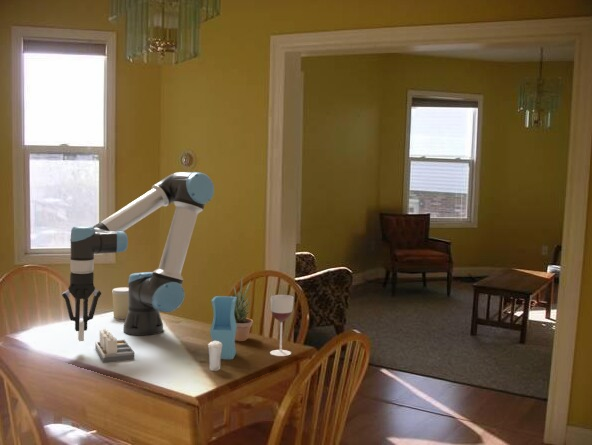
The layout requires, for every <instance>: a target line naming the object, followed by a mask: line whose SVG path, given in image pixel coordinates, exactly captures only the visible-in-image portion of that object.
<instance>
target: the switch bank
mask: <svg viewBox="0 0 592 445" xmlns="http://www.w3.org/2000/svg"><path fill="white" fill-rule="evenodd" d="M94 347H95V350H96V352H97V354H98V355H99V357H100V359H101V361H102V363H110V362H120V361H121V362H122V361H131V360H135V351H134V350H133V348H132V347H131V346H130V345H129V343H128V342H127V341H126V340H125V339H117V353H114V354H107V353H106V350H103V349H102V346H101V345H100V341H95V346H94Z"/></svg>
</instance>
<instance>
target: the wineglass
mask: <svg viewBox="0 0 592 445" xmlns="http://www.w3.org/2000/svg"><path fill="white" fill-rule="evenodd" d="M294 299H295V298H294V296H292V295H289V294H274V295H271V296H270V309H271V310H270V311H271V314H272V317H273V318H274V319H276V320H277V321H279V322H280V325H279V326H280V327H279V349H274V350H271V351H270V352H269V353H270V355H271V356H275V357H285V356H287V357H288V356H289V355H292V351H289V350H286V349H283V345H282V344H283V322H284V321H286V320H288V319H289V318H290V317H291V316H292V312H293V308H294Z"/></svg>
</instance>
